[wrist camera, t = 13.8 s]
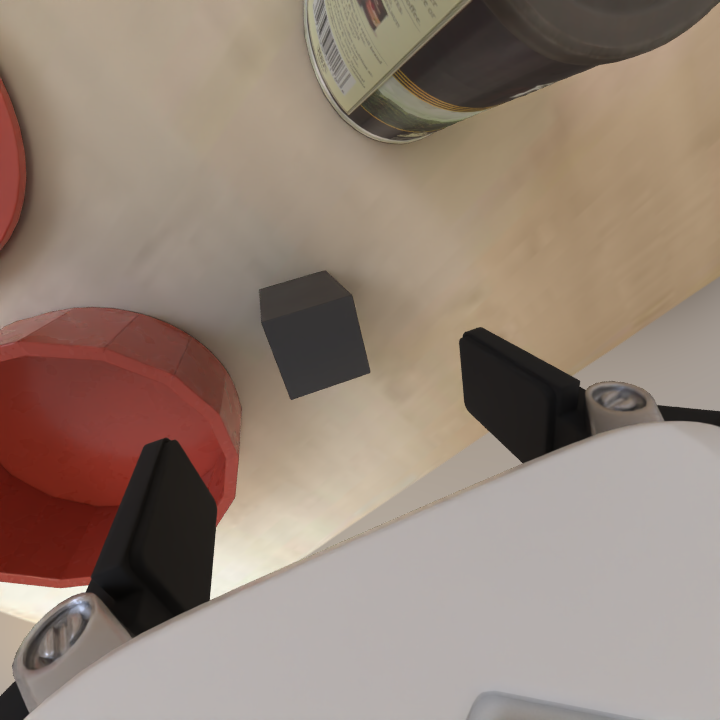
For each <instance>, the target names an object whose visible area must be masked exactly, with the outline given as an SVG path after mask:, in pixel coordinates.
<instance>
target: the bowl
mask: <svg viewBox="0 0 720 720" xmlns="http://www.w3.org/2000/svg"><path fill="white" fill-rule="evenodd" d="M241 411H242V408H241V405H240V402H239V398H238V395H237V392H236V389H235V386H234V384H233V382H232V380H231V378H230V376H229V374H228V373H227V371H226V370H225V368H224V367H223V365H222V364H221V363H220V361H219V360H218V359H217V358H216V357H215V356H214V355H213V354H212V353H211V352H210V351H209V350H208V349H207V348H206V347H205V346H203V345H202V344H201V343H200V342H199V341H197V340H196V339H194V338H193V337H191V336H190V335H188V334H187V333H185V332H184V331H182V330H180V329H178V328H176V327H174V326H172V325H170V324H168V323H166V322H163V321H161V320H158V319H155V318H153V317H150V316H146V315H143V314H139V313H135V312H132V311H125V310H119V309H113V308H97V307H86V308H70V309H64V310H58V311H52V312H48V313H45V314H42V315H38V316H35V317H32V318H28V319H24V320H19V321H16V322H14V323H12V324H10V325H8V326H6V327H4V328H2V329H0V582H9V583H18V584H27V585H36V586H45V587H54V588H66V587H75V586H84V585H89V583H90V581H91V578H90V577H91V575H92V572H93V570H94V567H95V565H96V562H97V560H98V558H99V555H100V553H101V550H102V548H103V545H104V543H105V540H106V538H107V535H108V533H109V530H110V528H111V525H112V523H113V521H114V518H115V516H116V513H117V511H118V508H119V506H120V503H121V501H122V498H123V496H124V493H125V491H126V489H127V486H128V484H129V481H130V479H131V476H132V474H133V471H134V469H135V466H136V464H137V461H138V459H139V456H140V454H141V452H142V449H143V447H144V445H146V444H148V443H151V442H154V441H157V440H160V439H163V438H165V437H166V438H169V439H170V440H171V441H172V440H177V441H178V442H179V444H180V445H181V447H182V448H183V450H184V452H185V453H186V455H187V456H188V458H189V460H190V461H191V463H192V464H193V466H194V467H195V469H196V471H197V472H198V474H199V475H200V477H201V479H202V480H203V482H204V483H205V485H206V487H207V488H208V490H209V491H210V493H211V495H212V496H213V498H214V499H215V502H216V505H217V521H216V527H217V525H218V523H219V522H220V520H221V519H222V517H223V516H224V514H225V513H226V511H227V509H228V508H229V506H230V505H231V503H232V502H233V500H234V499H235V495H236V484H237V472H238V461H239V446H240V429H241Z"/></svg>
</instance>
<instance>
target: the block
mask: <svg viewBox="0 0 720 720" xmlns="http://www.w3.org/2000/svg"><path fill="white" fill-rule="evenodd" d="M259 293H260V309H261V323H262V326H263V329H264V331H265V334H266V337H267V339H268V342H269V344H270V347H271V350H272V352H273V355H274V357H275V360H276V363H277V365H278V368H279V370H280V373H281V376H282V378H283V381H284V383H285V386H286V389H287V391H288V394H289V396H290V399H291V400H293V399H296V398H299V397H302V396H304V395H307V394H310V393H313V392H316V391H319V390H322V389H325V388H328V387H331V386H334V385H336V384H339V383H342V382H345V381H348V380H351V379H354V378H357V377H360V376H363V375H366V374H369V373H370V368H369V364H368V360H367V355H366V351H365V347H364V343H363V339H362V335H361V330H360V326H359V322H358V318H357V314H356V310H355V305H354V301H353V297H352V295H351V294H350V293H349V292H348V291H347V290H346V289H345V288H344V287H343V286H342V285H340V284H339V283H338V282H337V281H336V280H335V279H334V278H333V277H332V276H331V275H330V274H329V273H328V272H327V271H322V272H318V273H315V274H311V275H308V276H304V277H301V278H297V279H294V280H291V281H287V282H284V283H280V284H277V285H273V286H270V287H266V288H263V289H260V290H259Z"/></svg>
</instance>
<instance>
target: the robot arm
mask: <svg viewBox="0 0 720 720" xmlns="http://www.w3.org/2000/svg"><path fill="white" fill-rule="evenodd" d="M459 346H460V358H461V369H462V381H463V393H464V403H465V406H466V408H467V410H468V411H469V413H471V414H472V415H473V416H474V417H475V418H476V419H477V420H478V421H479V422H480V423H481V424H482V425H483V426H484V427H485V428H486V429H487V430H488V431H489V432H490V433H492V434H493V435H494V436H495V437H496V438H497V439H498V440H499V441H500V442H501V443H502V444H503V445H504V446H505V447H506V448H507V449H508V450H509V451H511V453H512V454H514V455H515V456H516V457H517V458H518V459H519V460H520V461H521V462H522V463H523V464H521V465H518V466H516V467H514V468H511V469H509V470H507V471H504V472H502V473H500V474H497V475H495V476H493V477H490V478H488V479H486V480H483V481H481V482H479V483H476V484H474V485H472V486H469V487H467V488H465V489H462V490H460V491H458V492H455V493H453V494H451V495H448V496H446V497H444V498H442V499H439V500H437V501H434V502H432V503H430V504H428V505H425V506H423V507H420V508H418V509H416V510H414V511H411V512H409V513H407V514H404V515H402V516H400V517H397V518H395V519H393V520H391V521H388V522H386V523H384V524H381V525H379V526H377V527H374V528H372V529H370V530H368V531H365V532H363V533H361V534H358V535H356V536H354V537H352V538H349V539H347V540H345V541H342V542H340V543H338V544H335V545H333V546H331V547H329V548H327V549H324V550H322V551H320V552H317V553H315V554H313V555H311V556H308V557H306V558H304V559H301V560H299V561H297V562H295V563H292V564H290V565H288V566H286V567H283V568H281V569H279V570H277V571H274V572H272V573H270V574H267V575H265V576H263V577H261V578H258V579H256V580H254V581H252V582H249V583H247V584H245V585H243V586H240V587H238V588H236V589H234V590H232V591H230V592H227V593H225V594H223V595H221V596H219V597H216V598H214V599H212V600H210V590H211V579H212V567H213V556H214V544H215V533H216V521H217V505H216V502H215V499H214V498H213V496H212V495H211V493H210V491H209V490H208V488H207V487H206V485H205V483H204V482H203V480H202V479H201V477H200V475H199V474H198V472H197V471H196V469H195V467H194V466H193V464H192V463H191V461H190V460H189V458H188V456H187V455H186V453H185V452H184V450H183V448H182V447H181V445H180V444H179V442H178V441H177V440H172V441H171V440H170V439H169V438H166V437H165V438H163V439H160V440H157V441H154V442H151V443H148V444H146V445H144V447H143V449H142V452H141V454H140V456H139V459H138V461H137V464H136V466H135V469H134V471H133V474H132V476H131V479H130V481H129V484H128V486H127V489H126V491H125V493H124V496H123V498H122V501H121V503H120V506H119V508H118V511H117V513H116V516H115V518H114V521H113V523H112V525H111V528H110V530H109V533H108V535H107V538H106V540H105V543H104V545H103V548H102V550H101V553H100V555H99V558H98V560H97V562H96V565H95V567H94V570H93V572H92V575H91V577H90V578H91V581H90V583H89V586H88V588H87V591H86V593H80V594H77V595H74V596H72V597H70V598H68V599H66V600H65V601H63V602H61V603H59V604H58V605H57V606H56V607H54V608H53V609H52V610H50V611H49V612H48V613H47V614H46V615H45V616H44V617H43V618H42V619H41V620H40V621H39V622H38V623H37V624H36V625H35V626H34V627H33V628H32V630H31V631H30V632H29V633H28V635H27V636H26V637H25V638H24V640H23V642H22V644H21V645H20V647H19V649H18V651H17V652H16V655H15V658H14V662H13V665H12V668H13V676H14V678H15V682H14V683H13V684H12V685H11V686H10V687H9V688H8V689H7V690H6V691H5V692H4V693H3V694H2V695H1V696H0V720H720V411H710V410H701V409H690V408H680V407H669V406H660V405H657V404H656V402H655V400H654V398H653V397H652V396H651V394H650V393H648V392H647V391H645V390H644V389H642V388H640V387H637V386H635V385H632V384H628V383H624V382H615V381H609V382H600V383H595V384H593V385H591V386H589V387H588V388H587V390H585V389H583V388H581V387H579V385H580V381H579V380H578V379H575V378H574V377H572V376H570V375H568V374H567V373H565V372H563V371H561V370H559V369H557V368H556V367H554V366H552V365H550V364H548V363H546V362H545V361H543V360H541V359H539V358H537V357H535V356H533V355H532V354H530V353H528V352H526V351H524V350H522V349H521V348H519V347H517V346H515V345H513V344H511V343H510V342H508V341H506V340H504V339H502V338H500V337H499V336H497V335H495V334H493V333H491V332H489V331H488V330H486V329H484V328H482V327H479V328H476V329H473V330H470V331H467V332H465V333H464V334H463V338H461V339H460V341H459Z"/></svg>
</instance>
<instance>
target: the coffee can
mask: <svg viewBox="0 0 720 720" xmlns="http://www.w3.org/2000/svg"><path fill="white" fill-rule="evenodd" d="M719 2H720V0H304V28H305V38H306V43H307V48H308V52H309V56H310V60H311V63H312V66H313V69H314V72H315V74H316V77H317V80H318V82H319V84H320V86H321V88H322V90H323V92H324V94H325V95H326V97H327V98H328V100H329V102H330V103H331V104H332V106H333V107H334V108H335V110H336V111H337V112H338V113H339V115H340V116H341V117H342V118H343V119H344V120H345V121H346V122H347V123H348V124H350V125H351V126H352V127H353V128H355V129H356V130H357V131H359V132H360V133H362V134H364V135H365V136H368V137H370V138H372V139H375V140H378V141H381V142H386V143H395V144H404V143H410V142H414V141H417V140H420V139H422V138H425V137H427V136H429V135H431V134H432V133H434V132H436V131H438V130H441V129H444V128H445V127H447V126H450V125H452V124H455V123H457V122H459V121H462V120H464V119H466V118H469V117H471V116H474V115H476V114H479V113H481V112H483V111H486V110H488V109H491V108H493V107H496V106H498V105H500V104H503V103H505V102H508V101H511V100H513V99H516V98H518V97H521V96H524V95H527V94H529V93H531V92H534V91H537V90H539V89H541V88H544V87H546V86H548V85H551V84H553V83H555V82H557V81H560V80H563V79H565V78H568V77H570V76H573V75H575V74H578V73H581V72H584V71H586V70H588V69H591V68H593V67H595V66H598V65H601V64H608V63H614V62H618V61H622V60H625V59H629V58H632V57H635V56H638V55H641V54H643V53H646V52H649V51H651V50H654V49H656V48H658V47H660V46H662V45H664V44H666V43H668V42H670V41H671V40H673V39H675V38H676V37H678V36H679V35H681V34H682V33H684V32H685V31H687V30H688V29H689V28H691V27H692V26H693V25H694V24H696V23H697V22H698V21H699V20H701V19H702V18H703V17H704V16H705V15H706V14H707V13H708V12H709V11H710V10H711V9H712V8H713V7H715V6H716V5H717V4H718V3H719Z"/></svg>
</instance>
